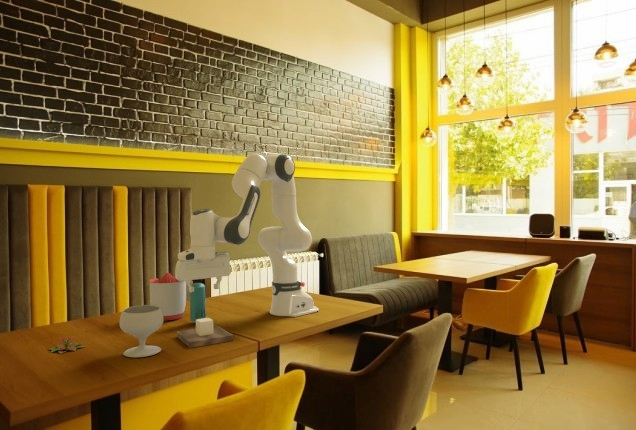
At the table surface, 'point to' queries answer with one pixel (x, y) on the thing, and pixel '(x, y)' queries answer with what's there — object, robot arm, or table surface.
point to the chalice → (141, 327)
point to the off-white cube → (204, 326)
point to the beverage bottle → (197, 301)
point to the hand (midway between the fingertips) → (204, 290)
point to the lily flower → (66, 346)
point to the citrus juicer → (168, 296)
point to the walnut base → (204, 337)
